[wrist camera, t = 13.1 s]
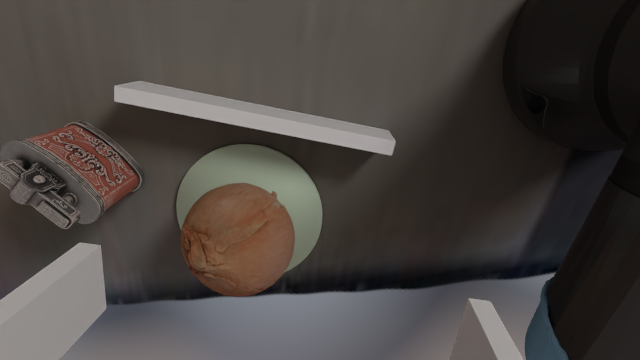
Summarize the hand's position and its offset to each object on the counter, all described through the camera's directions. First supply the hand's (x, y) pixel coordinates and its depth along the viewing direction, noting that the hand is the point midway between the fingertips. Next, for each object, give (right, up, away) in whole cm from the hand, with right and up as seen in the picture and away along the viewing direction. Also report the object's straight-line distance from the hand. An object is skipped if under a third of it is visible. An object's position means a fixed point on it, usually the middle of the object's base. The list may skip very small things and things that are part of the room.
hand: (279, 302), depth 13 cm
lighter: (-18, +7, +21) cm, 29 cm away
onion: (-5, +1, +23) cm, 23 cm away
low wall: (-3, +10, +19) cm, 22 cm away
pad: (-5, +1, +23) cm, 24 cm away
